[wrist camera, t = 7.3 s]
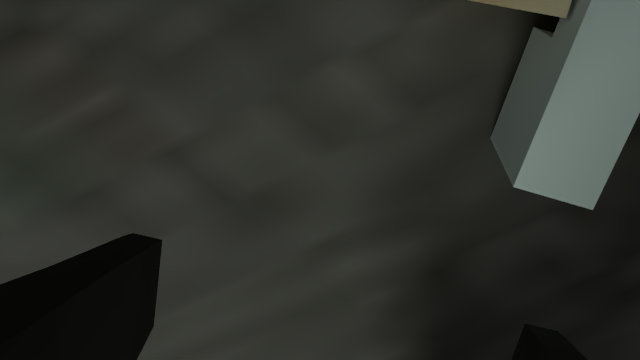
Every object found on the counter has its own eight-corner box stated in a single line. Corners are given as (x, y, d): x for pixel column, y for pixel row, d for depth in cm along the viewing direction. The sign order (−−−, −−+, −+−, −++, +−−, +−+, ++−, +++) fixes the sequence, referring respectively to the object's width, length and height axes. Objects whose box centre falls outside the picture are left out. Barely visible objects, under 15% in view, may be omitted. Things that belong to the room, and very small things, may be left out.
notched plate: (553, 156, 20) (592, 210, 16) (490, 138, 20) (513, 186, 16) (698, -175, 17) (798, -217, 12) (620, -196, 17) (693, -245, 12)
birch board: (775, 6, 18) (858, 19, 15) (758, 47, 18) (835, 68, 15) (441, -54, 18) (449, -55, 15) (432, -14, 19) (438, -6, 16)
